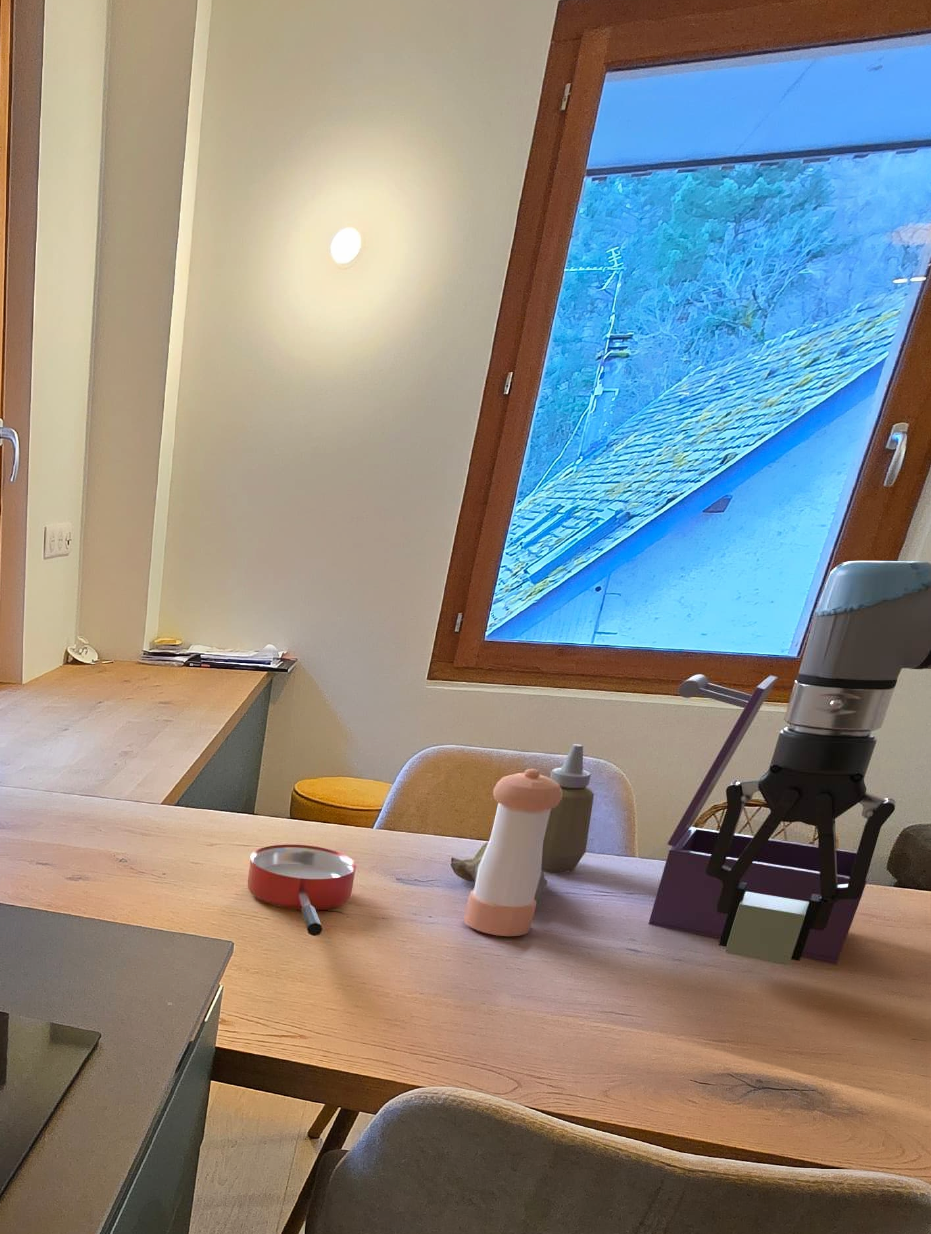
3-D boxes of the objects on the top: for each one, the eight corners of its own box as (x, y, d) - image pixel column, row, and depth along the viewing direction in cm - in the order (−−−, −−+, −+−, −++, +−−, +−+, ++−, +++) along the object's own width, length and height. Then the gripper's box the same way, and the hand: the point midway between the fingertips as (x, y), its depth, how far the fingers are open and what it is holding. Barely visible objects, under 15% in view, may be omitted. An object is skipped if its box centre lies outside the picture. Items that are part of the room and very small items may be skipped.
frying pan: (393, 980, 114) (404, 927, 111) (270, 974, 116) (277, 921, 113) (340, 876, 142) (348, 832, 139) (242, 872, 144) (247, 828, 141)
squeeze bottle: (581, 868, 148) (614, 742, 140) (576, 886, 142) (611, 755, 134) (517, 858, 152) (547, 735, 144) (510, 875, 146) (540, 747, 138)
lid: (777, 677, 122) (704, 657, 126) (764, 689, 113) (685, 667, 117) (693, 824, 132) (627, 801, 136) (674, 847, 122) (603, 821, 126)
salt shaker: (505, 941, 123) (543, 781, 114) (450, 920, 128) (483, 767, 120) (543, 928, 126) (583, 772, 117) (488, 908, 131) (522, 758, 123)
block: (793, 950, 112) (809, 901, 110) (788, 965, 108) (805, 915, 106) (731, 938, 115) (745, 891, 113) (724, 952, 111) (739, 903, 109)
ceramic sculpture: (482, 846, 128) (454, 816, 142) (468, 912, 131) (442, 878, 145) (578, 851, 126) (539, 821, 139) (561, 919, 129) (525, 883, 143)
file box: (842, 934, 125) (872, 853, 121) (835, 967, 115) (866, 881, 112) (666, 901, 136) (688, 826, 132) (646, 929, 126) (669, 849, 122)
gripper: (710, 724, 105) (651, 938, 114) (957, 746, 94) (870, 982, 103) (721, 715, 111) (664, 921, 120) (955, 734, 99) (873, 960, 108)
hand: (759, 949), depth 111 cm, fingers closed on block, 5 cm apart
